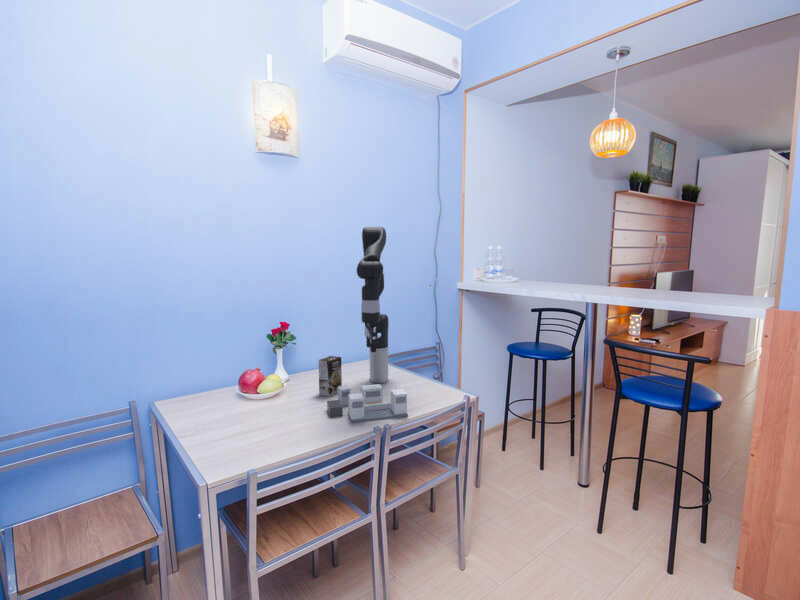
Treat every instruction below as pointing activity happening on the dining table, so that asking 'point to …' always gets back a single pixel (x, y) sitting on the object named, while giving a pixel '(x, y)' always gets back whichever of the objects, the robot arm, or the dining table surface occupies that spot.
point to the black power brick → (334, 408)
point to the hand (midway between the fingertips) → (371, 349)
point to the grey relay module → (343, 395)
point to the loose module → (372, 394)
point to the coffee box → (330, 375)
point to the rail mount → (377, 407)
